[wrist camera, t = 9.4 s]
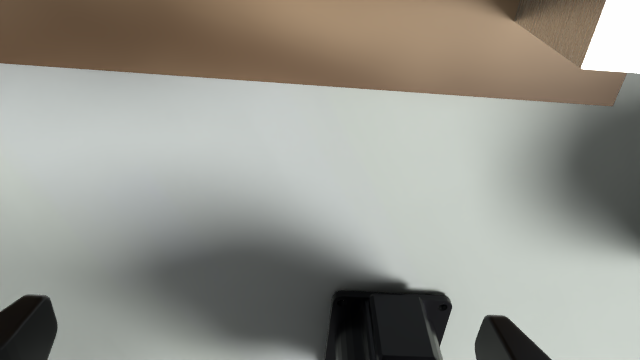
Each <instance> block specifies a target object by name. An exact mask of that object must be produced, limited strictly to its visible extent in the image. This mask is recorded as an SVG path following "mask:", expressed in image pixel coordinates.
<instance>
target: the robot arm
mask: <svg viewBox="0 0 640 360" xmlns="http://www.w3.org/2000/svg"><path fill="white" fill-rule="evenodd" d="M339 300H343V301H339ZM442 304H444V305H442ZM451 309H452V304H451V301H450V299H449V298H448V297H447V296H442V295H421V294H399V293H378V292H357V291H338V292H336V293H334V294H333V296H332V303H331V311H330V318H329V326H328V334H327V342H326V349H325V357H324V360H443V358H442V354H441V351H440V344H441V341H442V338H443V335H444V331H445V328H446V325H447V322H448V319H449V316H450V312H451ZM56 333H57V320H56V317H55V314H54V310H53V307H52V304H51V301H50V298H49V297H48V296H46V295H25V296H23V297H21V298H20V299H18V300H17V301H15V302H14V303H12V304H11V305H9V306H8V307H7V308H5V309H4V310H2V311H1V312H0V360H47V359H48V356H49V354H50V351H51V348H52V345H53V342H54V339H55V337H56ZM475 353H476V359H477V360H551V359H550V358H549V357H548V356H547V355H546V354H545V353H544V352H543V351H542V350H541V349H540V348H539V347H538V346H537V345H536V344H535V343H534V342H533V341H532V340H531V339H529V338H528V337H527V336H526V335H525V334H524V333H523V332H522V331H521V330H520V329H519V328H518V327H517V326H516V325H515V324H514V323H513V322H512V321H511V320H510V319H508V318H507V317H505V316H502V315H487V316H485V317H484V319H483V321H482V324H481V327H480V330H479V332H478V335H477V338H476V341H475Z"/></svg>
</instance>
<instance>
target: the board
mask: <svg viewBox="0 0 640 360" xmlns="http://www.w3.org/2000/svg"><path fill="white" fill-rule="evenodd" d="M519 2H520V0H0V63H5V64H19V65H34V66H48V67H62V68H76V69H90V70H105V71H119V72H133V73H147V74H161V75H176V76H190V77H204V78H218V79H232V80H247V81H261V82H275V83H289V84H303V85H317V86H332V87H346V88H360V89H374V90H388V91H403V92H417V93H431V94H445V95H459V96H474V97H488V98H502V99H516V100H530V101H545V102H559V103H573V104H587V105H601V106H613V104H614V102H615V100H616V97H617V95H618V93H619V90H620V88H621V86H622V83H623V81H624V79H625V76H626V74H627V72H618V71H604V70H591V69H581V68H579V67H578V66H576V65H575V64H574V63H572V62H571V61H569V60H568V59H566V58H565V57H564V56H562V55H561V54H559V53H558V52H557V51H555V50H554V49H552V48H551V47H550V46H548V45H547V44H545V43H544V42H542V41H541V40H540V39H538V38H537V37H535V36H534V35H533V34H531V33H530V32H528V31H527V30H526V29H524V28H523V27H521V26H520V25H518V24H517V23H516V22H514V20H515V16H516V13H517V9H518V6H519Z"/></svg>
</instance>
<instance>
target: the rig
mask: <svg viewBox="0 0 640 360" xmlns="http://www.w3.org/2000/svg"><path fill="white" fill-rule="evenodd" d="M514 22H516V23H517V24H518V25H520V26H521V27H523V28H524V29H526V30H527V31H528V32H530V33H531V34H533V35H534V36H535V37H537V38H538V39H540V40H541V41H542V42H544V43H545V44H547V45H548V46H550V47H551V48H552V49H554V50H555V51H557V52H558V53H559V54H561V55H562V56H564V57H565V58H566V59H568V60H569V61H571V62H572V63H574V64H575V65H576V66H578V67H579V68H581V69H591V70H604V71H618V72H631V73H640V0H520V2H519V6H518V9H517V13H516V16H515V20H514Z"/></svg>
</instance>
